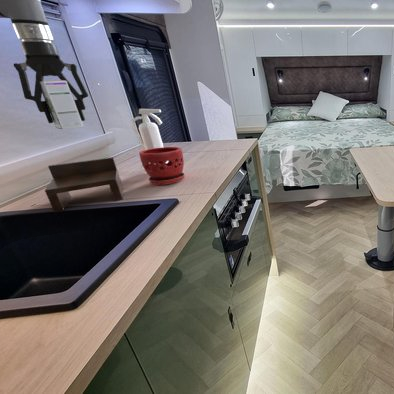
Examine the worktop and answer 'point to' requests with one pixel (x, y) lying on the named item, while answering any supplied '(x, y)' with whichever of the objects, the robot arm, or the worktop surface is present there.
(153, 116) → the fire extinguisher
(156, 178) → the flower pot
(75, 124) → the syrup box
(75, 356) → the worktop surface
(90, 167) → the bench
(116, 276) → the worktop surface
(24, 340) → the worktop surface
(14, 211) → the worktop surface
